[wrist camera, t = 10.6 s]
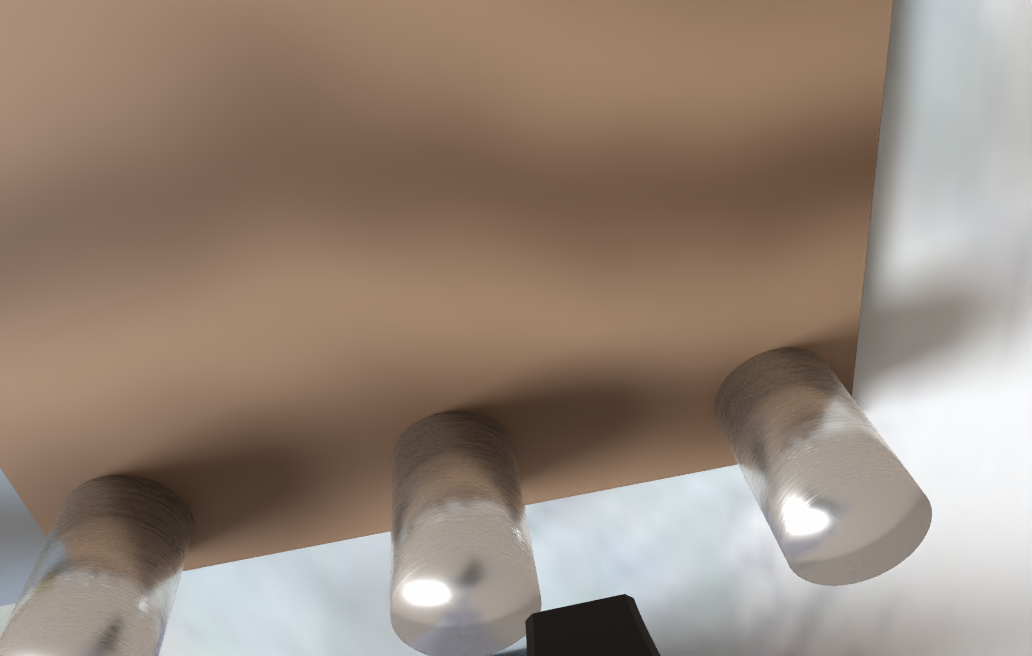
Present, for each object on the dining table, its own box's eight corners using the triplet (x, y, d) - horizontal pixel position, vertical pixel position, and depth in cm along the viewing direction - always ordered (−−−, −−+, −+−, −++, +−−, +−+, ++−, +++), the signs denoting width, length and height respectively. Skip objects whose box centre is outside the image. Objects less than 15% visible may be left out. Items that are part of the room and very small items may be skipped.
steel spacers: (829, 432, 21) (921, 569, 17) (93, 573, 21) (26, 745, 17) (908, -461, 12) (1146, -578, 8) (-430, -235, 11) (-833, -246, 8)
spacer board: (833, 423, 22) (846, 443, 22) (-290, 639, 22) (-312, 666, 21) (917, -498, 12) (947, -516, 12) (-1163, -149, 12) (-1259, -145, 11)
